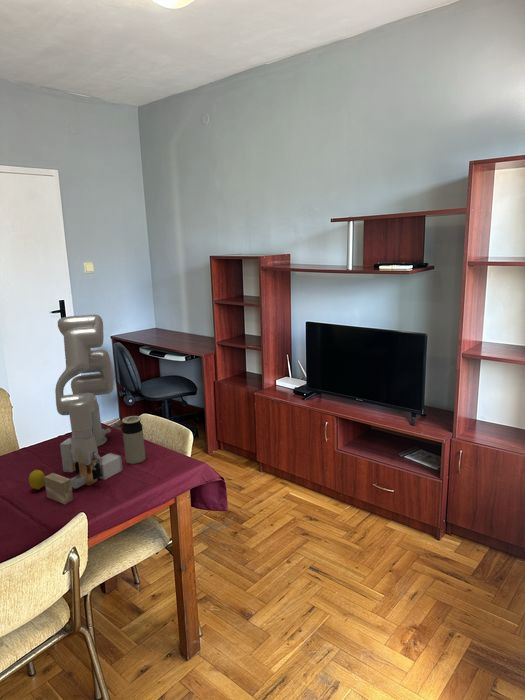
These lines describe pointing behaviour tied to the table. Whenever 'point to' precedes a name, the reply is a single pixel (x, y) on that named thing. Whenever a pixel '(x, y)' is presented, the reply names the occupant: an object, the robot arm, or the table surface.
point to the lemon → (37, 479)
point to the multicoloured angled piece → (84, 476)
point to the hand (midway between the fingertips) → (88, 475)
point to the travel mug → (133, 439)
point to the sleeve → (110, 465)
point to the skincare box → (67, 456)
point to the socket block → (58, 488)
